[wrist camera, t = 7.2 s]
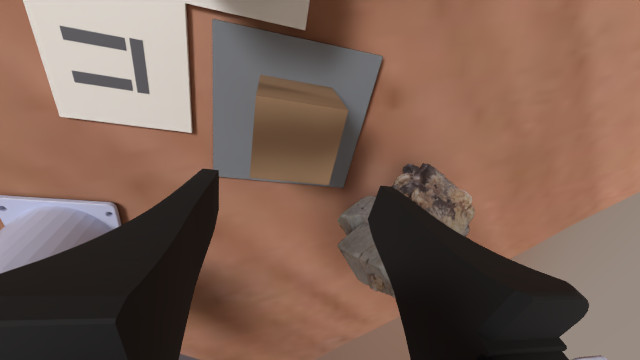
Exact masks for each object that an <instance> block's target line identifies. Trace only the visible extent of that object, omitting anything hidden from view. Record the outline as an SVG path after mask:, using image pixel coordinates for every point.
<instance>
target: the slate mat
mask: <svg viewBox="0 0 640 360" xmlns="http://www.w3.org/2000/svg"><path fill="white" fill-rule="evenodd" d="M212 32H213V170H219V177H228V178H239V179H250V180H261V181H272V182H283V183H294V184H305V185H316V186H327V187H338V188H343V187H344V184H345V181H346V177H347V174H348V171H349V167H350V164H351V161H352V157H353V154H354V151H355V147H356V144H357V141H358V137H359V134H360V131H361V128H362V124H363V121H364V118H365V114H366V111H367V108H368V104H369V101H370V98H371V94H372V91H373V88H374V84H375V81H376V78H377V74H378V71H379V68H380V64H381V61H382V58H383V56H380V55H376V54H371V53H366V52H362V51H357V50H353V49H348V48H344V47H339V46H334V45H330V44H325V43H321V42H316V41H312V40H307V39H303V38H298V37H293V36H289V35H284V34H280V33H275V32H271V31H266V30H261V29H257V28H252V27H248V26H243V25H239V24H234V23H230V22H225V21H220V20H216V19H212ZM260 75H265V76H271V77H276V78H282V79H287V80H293V81H298V82H304V83H309V84H315V85H320V86H326V87H332V88H333V90H334V91H335V92H336V94H337V95H338V97H339V98H340V99H341V101H342V102H343V104H344V105H345V106H346V108H347V109H348V114H347V118H346V122H345V125H344V129H343V133H342V137H341V140H340V144H339V148H338V152H337V156H336V159H335V163H334V167H333V171H332V175H331V178H330V182H329V185H323V184H312V183H301V182H291V181H280V180H269V179H258V178H250V166H251V153H252V139H253V126H254V113H255V100H256V92H257V88H258V83H259V78H260Z"/></svg>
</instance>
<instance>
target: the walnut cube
mask: <svg viewBox="0 0 640 360" xmlns="http://www.w3.org/2000/svg"><path fill="white" fill-rule="evenodd" d="M347 114H348V109H347V108H346V106H345V105H344V104H343V102H342V101H341V99H340V98H339V97H338V95H337V94H336V92H335V91H334V90H333V88H332V87H326V86H320V85H315V84H309V83H304V82H298V81H293V80H287V79H282V78H276V77H271V76H265V75H260V78H259V83H258V88H257V92H256V100H255V113H254V126H253V139H252V153H251V166H250V178H258V179H269V180H280V181H291V182H301V183H312V184H323V185H329V182H330V178H331V175H332V171H333V167H334V163H335V159H336V156H337V152H338V148H339V144H340V140H341V137H342V133H343V129H344V125H345V122H346V118H347Z"/></svg>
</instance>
